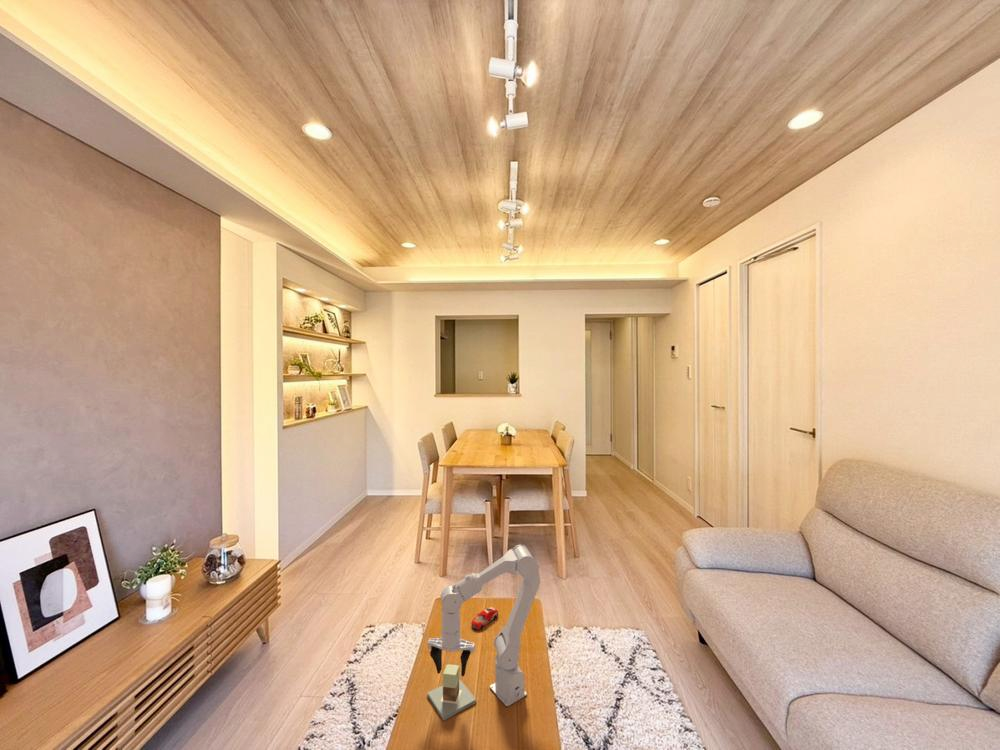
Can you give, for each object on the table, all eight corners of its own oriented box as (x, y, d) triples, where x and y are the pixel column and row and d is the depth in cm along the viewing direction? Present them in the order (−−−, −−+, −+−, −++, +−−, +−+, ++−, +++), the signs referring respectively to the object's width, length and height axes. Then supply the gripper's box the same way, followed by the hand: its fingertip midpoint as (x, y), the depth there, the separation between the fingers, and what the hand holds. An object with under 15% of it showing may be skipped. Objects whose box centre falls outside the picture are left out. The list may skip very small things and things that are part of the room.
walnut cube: (459, 691, 123) (459, 678, 123) (455, 701, 119) (455, 688, 119) (446, 689, 124) (446, 676, 124) (442, 699, 120) (442, 686, 120)
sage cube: (459, 678, 123) (459, 665, 123) (455, 688, 119) (455, 675, 119) (447, 677, 124) (447, 664, 124) (443, 686, 120) (443, 673, 120)
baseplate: (476, 702, 120) (475, 699, 120) (443, 720, 114) (443, 716, 114) (458, 680, 129) (458, 676, 129) (427, 696, 123) (427, 692, 123)
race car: (478, 633, 154) (478, 622, 154) (468, 627, 157) (468, 617, 157) (500, 617, 164) (500, 607, 164) (490, 612, 167) (490, 603, 167)
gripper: (476, 622, 124) (477, 666, 124) (433, 618, 127) (433, 660, 127) (471, 637, 117) (471, 683, 117) (425, 632, 120) (425, 677, 120)
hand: (451, 672), depth 122 cm, fingers open, 7 cm apart
